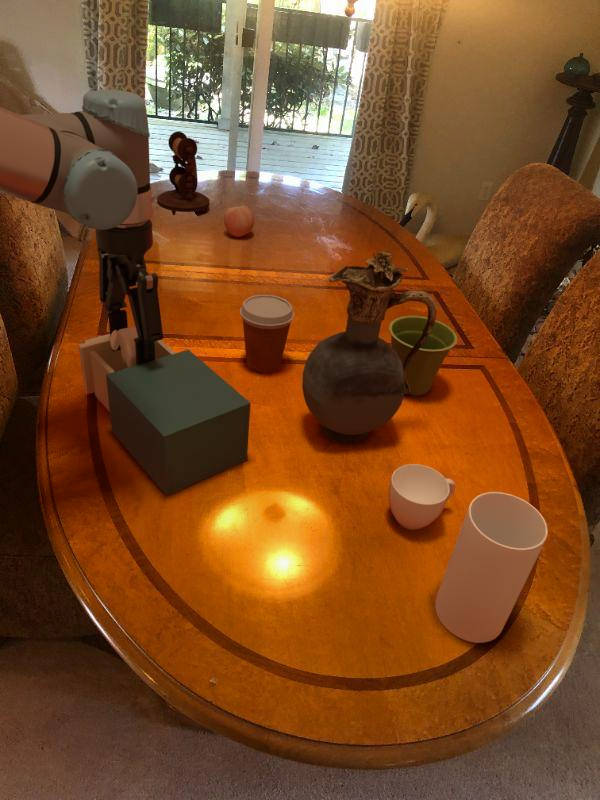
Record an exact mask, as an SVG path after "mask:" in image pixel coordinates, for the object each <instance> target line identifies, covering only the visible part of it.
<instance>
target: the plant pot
mask: <svg viewBox="0 0 600 800" xmlns="http://www.w3.org/2000/svg"><path fill="white" fill-rule="evenodd" d="M427 320H428V316H427V317H426V316H421V315H404V316H400V317H397V318H395V319H393V320H392V321H390V323H389V326H388V331H389V334H390V343H391V347H392V348H393V349H394V350H395V351H396V353H397V354H398V356H399V358H400V360H401V362H402V365H404V362H405V359H406V357H407V355H408V354H409V353H410V352H411V350H412V349H413V347H414V346H415V344H416V343H417V342H418V341H419V339H420V338H421V336H422V334H423V329H424V327H425V325H426V323H427ZM457 342H458V335H457V334H456V332H455V331H454V330H453V328H451V327H450V326H448V325H447V324H446V323H443V322H442V321H439V320H437V319H436V320H435V324H434V326H433V328H432V331H431V333H430V334H429V335H428V337H427V339H426V340H425V342H424V343H423V344H422V346H421V347H420V348H419V350H418V351H417V352H416V353H415V355H413V356H412V358H411V359H410V362H409V364H408V365H407V367H406V380H407V382H408V385H409V387H410V390H411V394H410V393H409V391H408V390H407V388H406V385H405V392H404V395H413V396H422V395H425V394H428V392H429V391H430V390H431V387H432V386H433V383H434V381H435V379H436V377H437V375H438V373H439V371H440V369H441V367H442V364H443V363H444V361H445V359H446V357H447V356H448V355H449V353H450V352H451V349H453V348H454V347H455V346H457V345H456V344H457Z"/></svg>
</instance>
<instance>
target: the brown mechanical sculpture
mask: <svg viewBox="0 0 600 800" xmlns="http://www.w3.org/2000/svg"><path fill="white" fill-rule="evenodd" d="M168 147H169V149H170V150H171V152H173V154H174V155H173V156H172V161H173V163H174V167H173V168H171V170H170V171H169V173H168V174H169V175H168V178H169V182H170V184H171V185H173V187H174V189H171V190H166V191H164V192H162V193H160V194H158V196H157V197H156V204H157V205H158V206H159V207H160V208H162V209H165V210H168V211H171V214H172V216H175V215H176V213H177V212H178V213H193V212H200V211H203V212H204V213H207V211H208V208H209V207H210V205H211V203H210V198H208V196H206V195H204V194H203V193H201V192H199V191H197V189H198V185H199V184H198V183H199V182H198V181H199V180H198V167H197V160H196V155H197V153H198V143H197V142H196V140H194V139H193V138H191V137H188V136H187V135H186V134H185V133H184V132H182V131H174V132H173V133H171V134H170V136H169V138H168Z"/></svg>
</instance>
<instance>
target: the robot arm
mask: <svg viewBox="0 0 600 800" xmlns="http://www.w3.org/2000/svg"><path fill="white" fill-rule="evenodd" d="M150 133H151V132H150V127H149V118H148V111H147V105H146V103H145V100H144V99H143V98H142V97H141V96H140V95H138V94H137V93H134V92H130V91H126V90H121V89H120V90H119V89H96V90H88V91H87V92H85V93H84V95H83V97H82V105H81V110H78V111H74V112H62V113H61V112H60V113H59V112H58V113H56V112H55V113H34V114H33V113H30V114H29V113H27V114H19V113H16V112H13V111H10V110H8V109H5V108H4V107H1V106H0V194H2V195H6V196H9V197H13V198H16V199H19V200H24V201H26V202H29V203H32V204H35V205H37V206H41V207H45V208H48V209H50V210H54V211H58V212H61V213H64V214H67V215H69V217H70V218H72V219H73V221H76V222H77V223H79V224H82V225H84V226H87V227H88V228H91V229H94V230H95V240H96V248H97V249H96V250H97V255H98V272H99V273H98V276H99V277H98V279H99V282H98V283H99V301H100V303H101V304H104V303H105V304H104V307H105V308H104V309H105V310H106V311H107V312H108V313H107V315H108V328H109V334H110V337H111V334H112V332H113V331H114V330H117V331H118V330H120V329H124V328H129V325H128V312H127V310H126V309H125V308H128V304H127V302H126V296H127V298H128V302H129V307H130V310H131V314H132V318H133V322H134V327H136V331H137V335H138V338H135V339H134V342H135V346H136V362H137V365H139V364H142V363H145V362H149V361H152V360H155V341H159V340H162V341H163V340H164V332H163V325H162V316H161V315H162V314H161V307H160V300H159V292H158V291H159V290H158V289H159V288H158V286H159V277H158V274H157V273H156V272H154V273H149V272H148V270H147V265H146V261H145V254H146V253H147V252H148V251H150V249H152V247H153V245H154V236H153V235H154V233H153V221H152V220H151V218H152V217H153V208H152V204H153V203H152V186H151V167H150V162H151V161H150V137H151V134H150ZM131 287H132V288H131ZM111 350H112V351H113V352H114V351H118V350H121V348H120V346H118V348H117V350H113V349H112V347H111Z"/></svg>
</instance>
